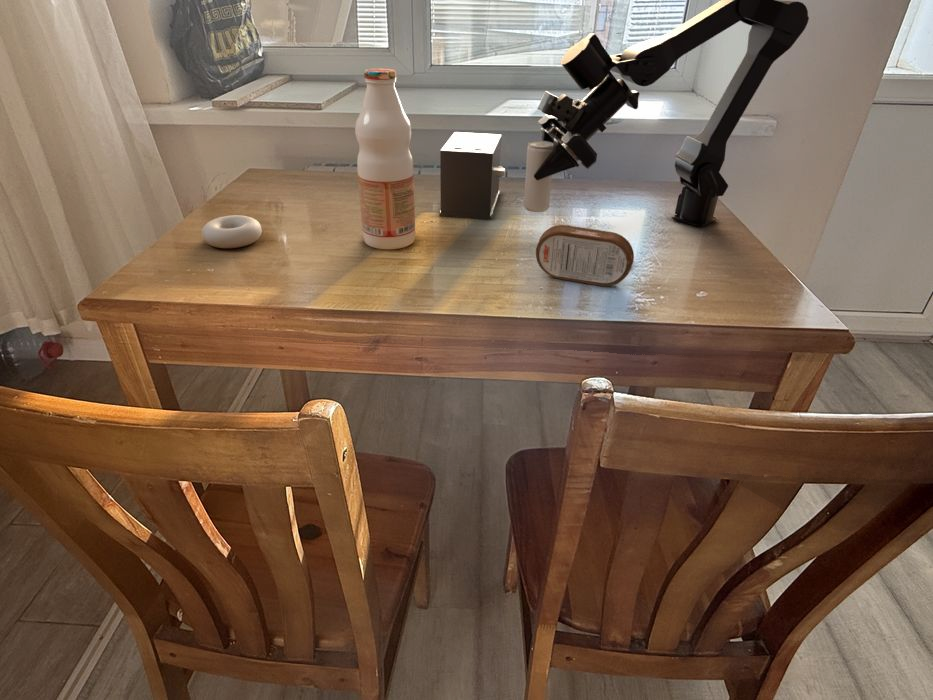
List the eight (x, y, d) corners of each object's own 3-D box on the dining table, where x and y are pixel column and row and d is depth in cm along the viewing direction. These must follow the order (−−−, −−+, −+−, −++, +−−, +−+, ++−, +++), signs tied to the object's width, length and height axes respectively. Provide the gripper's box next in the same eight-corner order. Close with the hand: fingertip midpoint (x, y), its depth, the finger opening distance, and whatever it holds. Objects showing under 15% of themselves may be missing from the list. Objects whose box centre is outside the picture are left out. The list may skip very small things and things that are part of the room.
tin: (629, 283, 92) (638, 233, 87) (627, 292, 89) (636, 240, 85) (536, 269, 96) (540, 220, 91) (531, 276, 93) (536, 226, 89)
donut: (235, 256, 98) (275, 235, 106) (231, 237, 96) (271, 217, 104) (191, 245, 101) (233, 226, 109) (186, 227, 100) (229, 208, 107)
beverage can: (550, 213, 108) (556, 147, 102) (524, 213, 108) (528, 146, 102) (547, 204, 112) (553, 140, 106) (522, 204, 112) (526, 140, 106)
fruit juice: (360, 250, 101) (345, 74, 86) (366, 230, 109) (353, 65, 93) (414, 250, 101) (408, 74, 86) (416, 231, 109) (411, 66, 94)
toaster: (508, 194, 128) (511, 134, 121) (500, 220, 115) (504, 153, 108) (453, 191, 130) (453, 130, 123) (439, 216, 116) (439, 149, 109)
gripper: (553, 66, 106) (492, 131, 110) (587, 82, 90) (514, 157, 95) (589, 111, 111) (529, 171, 116) (627, 133, 96) (556, 201, 100)
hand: (531, 174), depth 106 cm, fingers closed on beverage can, 5 cm apart
